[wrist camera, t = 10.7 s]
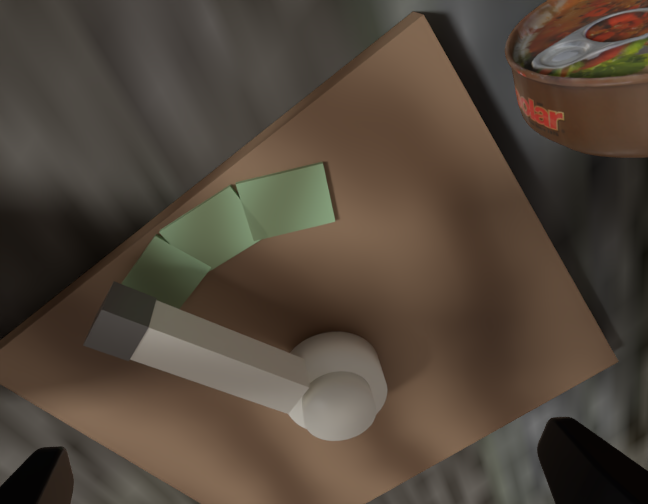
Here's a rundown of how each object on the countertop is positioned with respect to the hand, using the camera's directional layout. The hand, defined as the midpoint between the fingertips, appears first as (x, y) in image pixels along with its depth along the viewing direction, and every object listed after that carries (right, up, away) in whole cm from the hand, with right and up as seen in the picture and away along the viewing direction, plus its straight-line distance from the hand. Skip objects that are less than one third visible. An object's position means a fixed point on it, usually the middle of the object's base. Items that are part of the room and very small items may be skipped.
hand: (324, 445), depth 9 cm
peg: (-3, 0, +12) cm, 12 cm away
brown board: (0, -1, +15) cm, 15 cm away
